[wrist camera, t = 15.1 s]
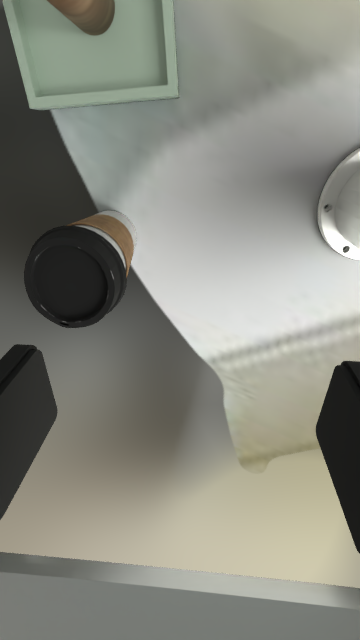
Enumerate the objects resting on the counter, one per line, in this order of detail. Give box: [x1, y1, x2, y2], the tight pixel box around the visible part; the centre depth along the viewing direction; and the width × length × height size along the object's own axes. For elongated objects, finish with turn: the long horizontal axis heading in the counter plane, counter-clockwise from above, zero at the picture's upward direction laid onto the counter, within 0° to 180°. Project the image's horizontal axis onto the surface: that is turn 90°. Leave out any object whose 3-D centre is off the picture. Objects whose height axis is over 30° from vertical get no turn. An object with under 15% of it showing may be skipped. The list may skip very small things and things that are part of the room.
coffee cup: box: [24, 210, 137, 328], centre depth 32 cm, size 8×8×15 cm
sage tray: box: [2, 0, 179, 110], centre depth 27 cm, size 14×14×2 cm
